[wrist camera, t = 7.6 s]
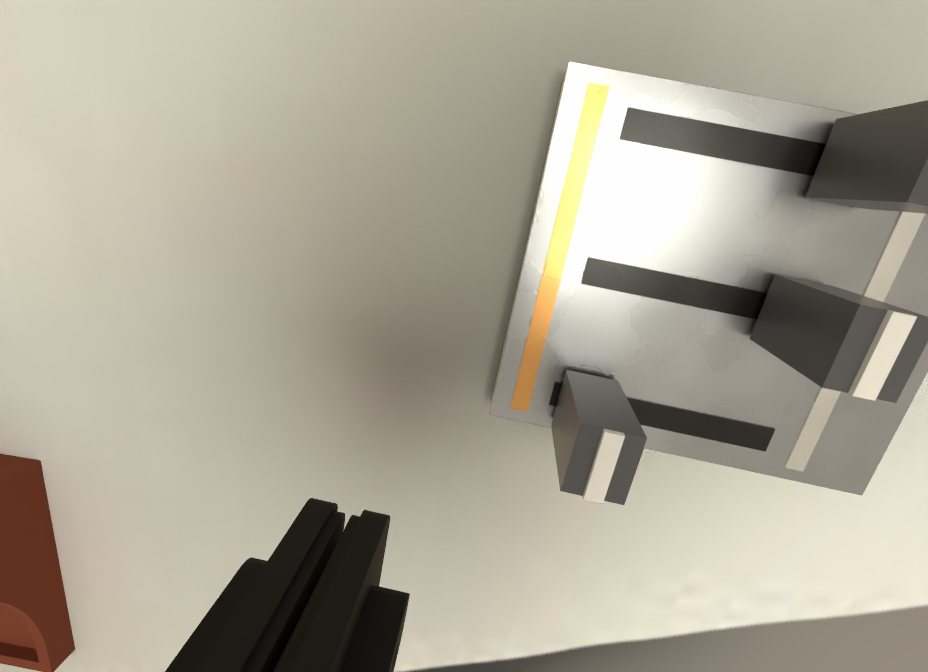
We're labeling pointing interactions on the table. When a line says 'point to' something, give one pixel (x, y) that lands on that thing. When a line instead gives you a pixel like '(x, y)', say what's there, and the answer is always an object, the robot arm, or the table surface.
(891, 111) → the block
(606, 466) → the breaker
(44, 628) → the hanging shelf
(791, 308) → the breaker mid
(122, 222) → the table surface
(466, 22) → the table surface
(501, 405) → the panel
